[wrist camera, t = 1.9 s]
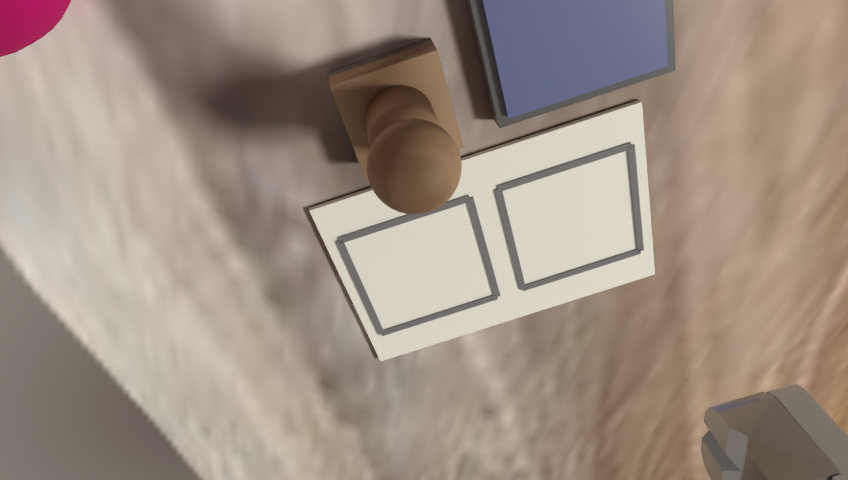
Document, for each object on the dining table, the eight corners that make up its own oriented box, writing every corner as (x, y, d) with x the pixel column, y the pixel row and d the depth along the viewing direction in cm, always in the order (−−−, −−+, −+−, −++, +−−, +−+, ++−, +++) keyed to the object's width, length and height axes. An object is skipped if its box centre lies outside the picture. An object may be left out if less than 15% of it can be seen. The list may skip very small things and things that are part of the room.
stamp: (430, 37, 29) (469, 110, 22) (456, 131, 32) (498, 222, 25) (327, 72, 29) (335, 155, 22) (362, 162, 32) (379, 260, 25)
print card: (639, 99, 33) (642, 102, 32) (652, 271, 40) (655, 275, 39) (309, 207, 33) (309, 211, 33) (380, 358, 40) (380, 362, 40)
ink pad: (658, -86, 28) (672, -82, 26) (665, 63, 32) (678, 72, 31) (461, -20, 28) (467, -13, 27) (494, 119, 32) (500, 130, 31)
